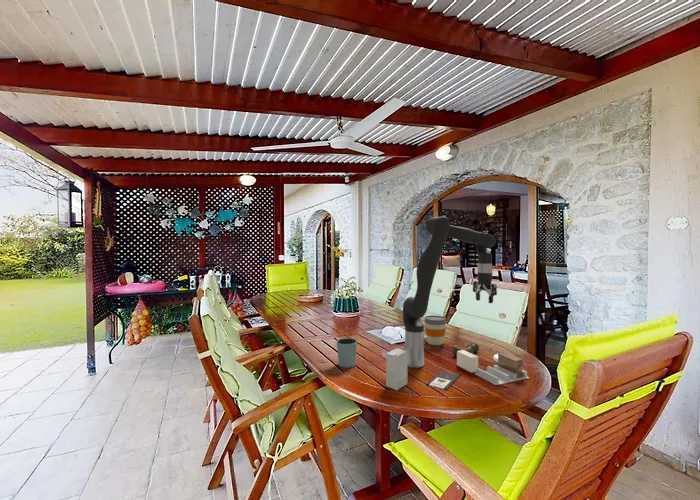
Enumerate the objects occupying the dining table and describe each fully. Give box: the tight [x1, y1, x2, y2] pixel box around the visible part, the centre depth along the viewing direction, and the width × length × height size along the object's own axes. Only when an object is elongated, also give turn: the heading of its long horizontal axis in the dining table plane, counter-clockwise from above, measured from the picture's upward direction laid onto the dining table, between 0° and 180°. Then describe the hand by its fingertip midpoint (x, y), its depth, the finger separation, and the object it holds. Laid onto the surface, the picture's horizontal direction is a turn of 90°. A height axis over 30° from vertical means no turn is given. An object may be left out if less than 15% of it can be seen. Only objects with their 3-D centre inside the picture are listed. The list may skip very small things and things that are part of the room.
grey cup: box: [336, 337, 358, 369], centre depth 173 cm, size 10×10×12 cm
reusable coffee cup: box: [424, 315, 447, 346], centre depth 207 cm, size 12×13×15 cm
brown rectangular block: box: [497, 352, 523, 379], centre depth 158 cm, size 4×10×8 cm, turn 22°
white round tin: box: [493, 353, 499, 364], centre depth 173 cm, size 10×10×4 cm
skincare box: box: [385, 347, 408, 391], centre depth 149 cm, size 8×6×15 cm
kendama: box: [452, 342, 480, 357], centre depth 185 cm, size 6×10×20 cm
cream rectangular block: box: [456, 350, 479, 373], centre depth 165 cm, size 4×10×8 cm, turn 22°
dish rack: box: [474, 364, 530, 386], centre depth 156 cm, size 19×13×4 cm
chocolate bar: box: [426, 370, 461, 391], centre depth 154 cm, size 9×1×18 cm
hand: (484, 301), depth 187 cm, fingers open, 8 cm apart
